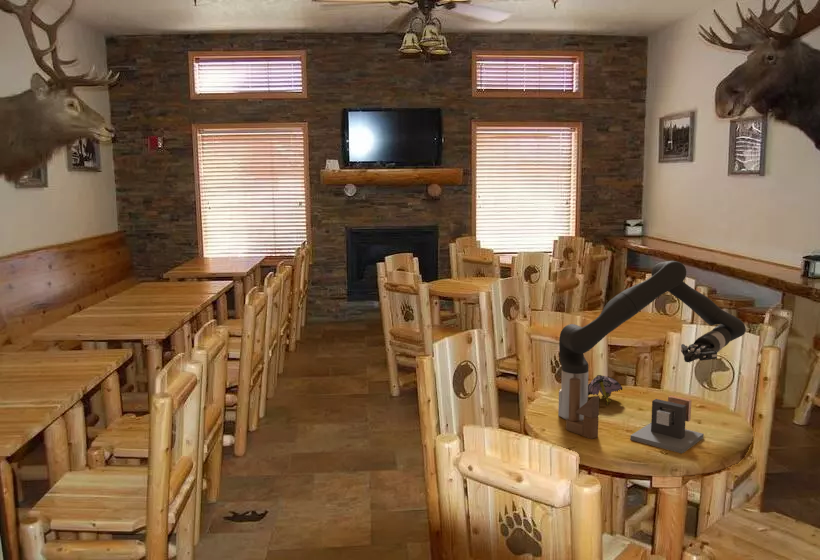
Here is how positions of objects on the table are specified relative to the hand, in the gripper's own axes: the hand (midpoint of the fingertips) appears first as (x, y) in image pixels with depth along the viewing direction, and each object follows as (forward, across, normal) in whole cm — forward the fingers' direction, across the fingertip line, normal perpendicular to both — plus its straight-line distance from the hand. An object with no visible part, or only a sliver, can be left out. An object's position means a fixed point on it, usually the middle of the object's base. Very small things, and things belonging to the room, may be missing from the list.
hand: (686, 359), depth 226 cm
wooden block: (+30, -21, +22) cm, 43 cm away
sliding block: (+11, +1, +19) cm, 22 cm away
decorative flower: (-3, -34, +26) cm, 43 cm away
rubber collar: (+14, +1, +21) cm, 26 cm away
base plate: (+15, +1, +23) cm, 27 cm away
